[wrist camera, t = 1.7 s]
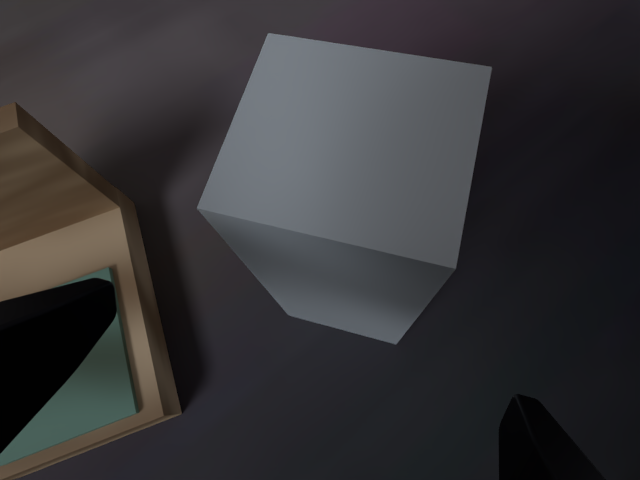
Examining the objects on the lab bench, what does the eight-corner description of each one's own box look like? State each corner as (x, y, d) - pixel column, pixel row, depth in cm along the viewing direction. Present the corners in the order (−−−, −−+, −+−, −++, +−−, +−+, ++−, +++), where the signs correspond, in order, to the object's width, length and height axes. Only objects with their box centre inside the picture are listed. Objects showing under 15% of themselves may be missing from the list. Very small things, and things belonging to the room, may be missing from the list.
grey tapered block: (396, 344, 20) (455, 269, 8) (288, 315, 21) (196, 208, 9) (416, 249, 22) (492, 67, 10) (315, 226, 23) (268, 32, 11)
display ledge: (181, 413, 20) (53, 428, 11) (19, 477, 20) (-238, 540, 11) (134, 202, 24) (14, 100, 16) (-1, 251, 24) (-197, 173, 15)
